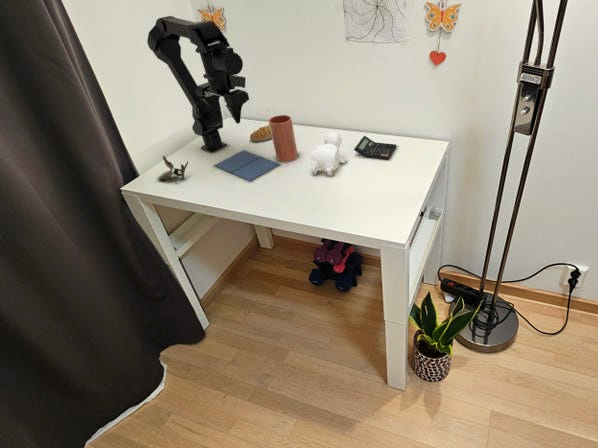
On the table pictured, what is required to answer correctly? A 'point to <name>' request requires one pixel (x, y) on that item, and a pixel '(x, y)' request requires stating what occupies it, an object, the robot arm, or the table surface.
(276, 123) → the pencil cup
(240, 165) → the napkin
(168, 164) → the eagle figurine
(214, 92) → the robot arm
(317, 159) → the white lumpy rounded figurine
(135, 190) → the table surface
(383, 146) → the calculator
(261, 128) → the pastry
